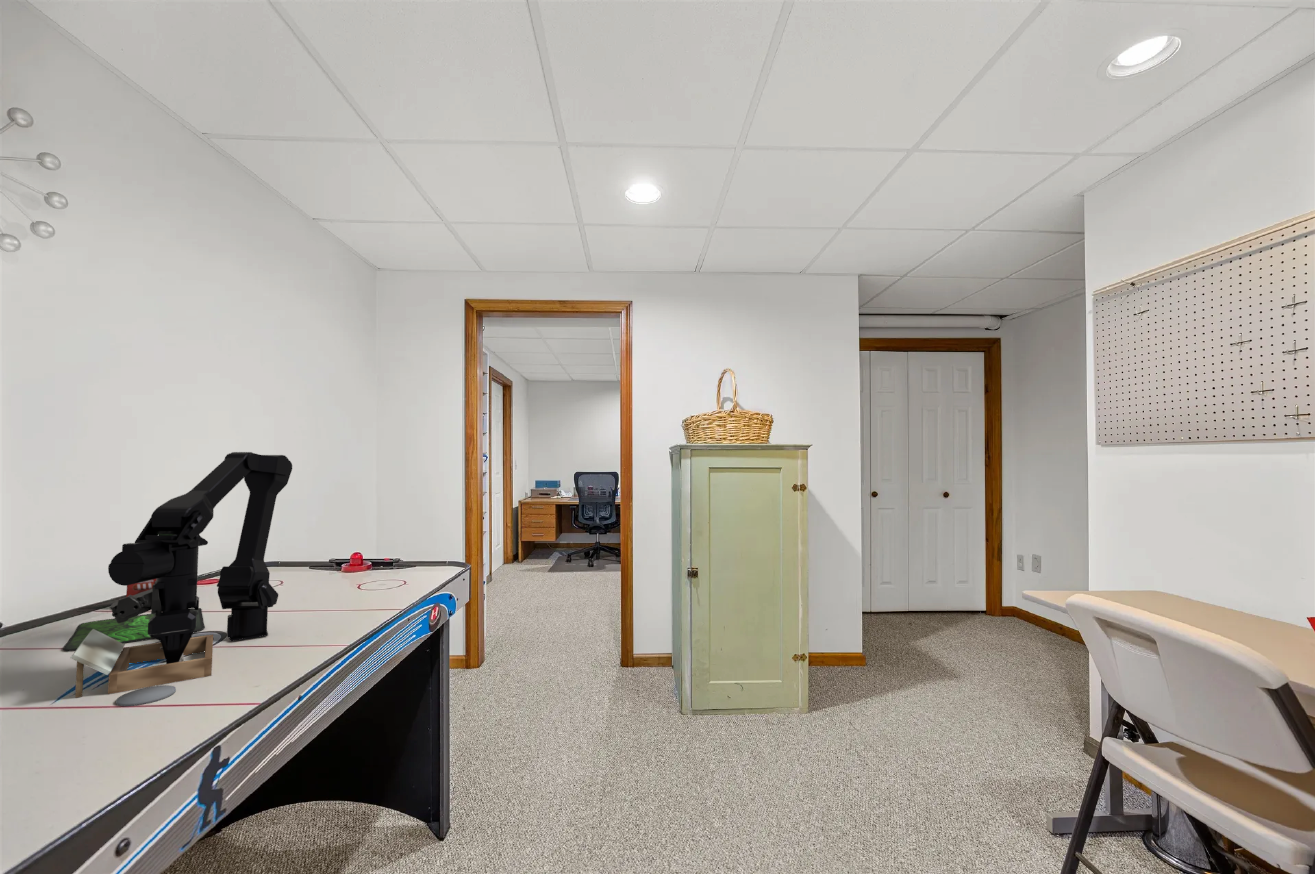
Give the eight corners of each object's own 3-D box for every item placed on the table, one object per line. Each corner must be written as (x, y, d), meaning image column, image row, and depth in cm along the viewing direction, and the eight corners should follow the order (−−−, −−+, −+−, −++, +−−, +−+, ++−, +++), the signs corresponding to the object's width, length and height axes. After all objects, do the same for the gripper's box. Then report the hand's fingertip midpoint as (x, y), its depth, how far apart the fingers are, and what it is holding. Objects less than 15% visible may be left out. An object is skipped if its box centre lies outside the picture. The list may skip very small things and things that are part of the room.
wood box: (212, 649, 111) (214, 613, 111) (211, 675, 98) (213, 634, 98) (88, 669, 100) (90, 629, 101) (67, 701, 87) (70, 655, 87)
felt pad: (177, 684, 94) (177, 681, 94) (174, 698, 88) (174, 695, 88) (119, 694, 89) (119, 692, 89) (112, 710, 84) (112, 707, 84)
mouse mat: (78, 624, 129) (78, 620, 129) (200, 608, 144) (201, 604, 144) (61, 655, 109) (61, 650, 109) (206, 633, 123) (206, 628, 123)
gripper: (123, 570, 104) (119, 655, 103) (107, 588, 89) (102, 688, 89) (200, 564, 111) (197, 644, 110) (197, 580, 96) (193, 672, 96)
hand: (173, 660), depth 101 cm, fingers open, 9 cm apart
